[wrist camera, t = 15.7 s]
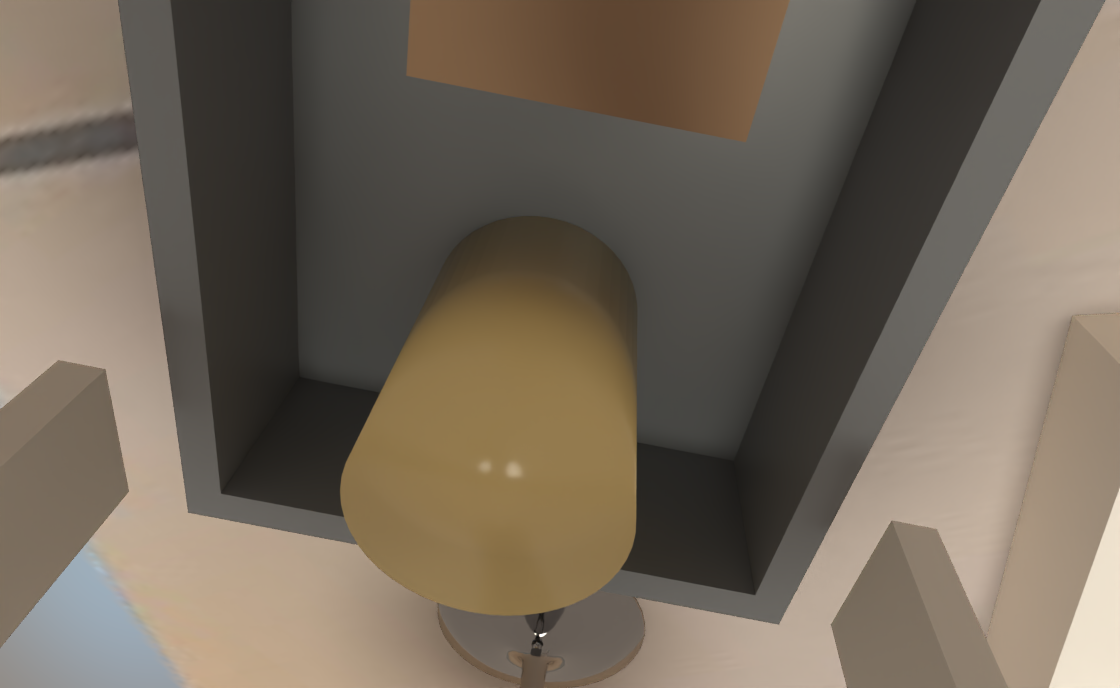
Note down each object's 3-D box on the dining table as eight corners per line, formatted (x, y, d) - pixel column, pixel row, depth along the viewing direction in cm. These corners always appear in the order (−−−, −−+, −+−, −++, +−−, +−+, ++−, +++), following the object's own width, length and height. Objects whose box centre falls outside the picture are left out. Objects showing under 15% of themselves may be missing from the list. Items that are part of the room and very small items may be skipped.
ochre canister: (428, 372, 20) (337, 587, 14) (444, 196, 17) (342, 370, 11) (613, 409, 20) (602, 637, 14) (659, 239, 17) (669, 434, 11)
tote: (242, -522, 12) (16, -743, 7) (1093, -340, 12) (1343, -455, 8) (278, 384, 21) (187, 512, 17) (751, 475, 21) (778, 624, 17)
